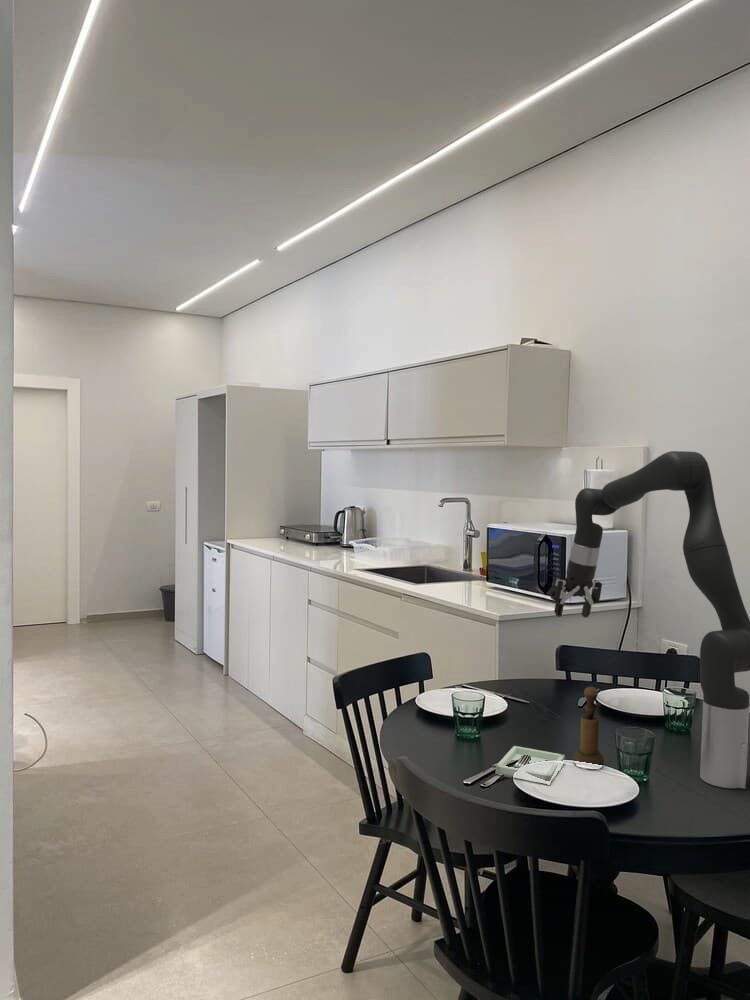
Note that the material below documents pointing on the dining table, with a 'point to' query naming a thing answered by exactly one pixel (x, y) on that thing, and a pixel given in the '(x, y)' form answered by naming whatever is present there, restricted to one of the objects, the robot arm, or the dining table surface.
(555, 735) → the dining table surface
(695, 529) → the robot arm
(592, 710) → the mortar and pestle
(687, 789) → the dining table surface
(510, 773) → the tray
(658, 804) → the dining table surface
